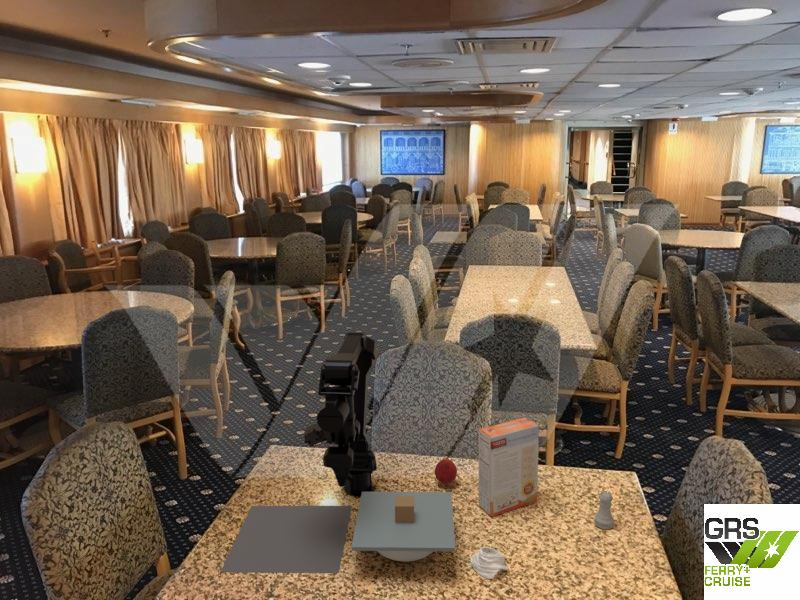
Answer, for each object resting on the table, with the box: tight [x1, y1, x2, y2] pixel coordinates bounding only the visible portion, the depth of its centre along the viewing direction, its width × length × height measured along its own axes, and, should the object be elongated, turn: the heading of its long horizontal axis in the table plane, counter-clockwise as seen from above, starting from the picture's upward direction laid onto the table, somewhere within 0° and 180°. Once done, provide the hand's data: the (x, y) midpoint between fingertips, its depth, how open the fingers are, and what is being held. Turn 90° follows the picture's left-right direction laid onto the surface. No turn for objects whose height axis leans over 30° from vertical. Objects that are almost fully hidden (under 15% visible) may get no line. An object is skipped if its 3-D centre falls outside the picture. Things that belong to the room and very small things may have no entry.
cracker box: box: [477, 416, 540, 517], centre depth 153 cm, size 14×6×21 cm, turn 115°
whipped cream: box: [470, 546, 509, 580], centre depth 132 cm, size 8×7×5 cm
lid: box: [350, 491, 456, 552], centre depth 136 cm, size 21×21×5 cm
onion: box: [434, 455, 458, 486], centre depth 164 cm, size 6×6×8 cm
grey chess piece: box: [593, 490, 615, 530], centre depth 145 cm, size 4×4×8 cm
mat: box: [220, 505, 353, 574], centre depth 143 cm, size 25×25×1 cm
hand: (344, 475), depth 144 cm, fingers open, 9 cm apart
